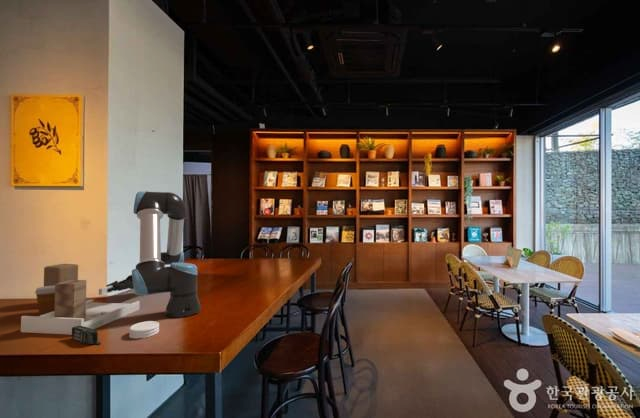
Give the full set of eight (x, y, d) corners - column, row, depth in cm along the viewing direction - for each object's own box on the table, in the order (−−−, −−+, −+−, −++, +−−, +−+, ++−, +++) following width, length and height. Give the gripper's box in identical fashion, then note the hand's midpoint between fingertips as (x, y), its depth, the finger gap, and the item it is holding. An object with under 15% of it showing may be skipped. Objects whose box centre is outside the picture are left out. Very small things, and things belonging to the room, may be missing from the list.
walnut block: (85, 318, 122) (86, 280, 123) (73, 324, 115) (74, 283, 116) (67, 318, 121) (68, 280, 122) (54, 324, 114) (55, 284, 115)
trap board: (90, 307, 144) (91, 295, 144) (139, 309, 142) (139, 296, 142) (20, 332, 114) (21, 316, 114) (81, 335, 111) (81, 319, 111)
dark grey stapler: (69, 326, 107) (93, 332, 101) (79, 324, 110) (103, 329, 104) (69, 340, 107) (93, 347, 101) (79, 337, 110) (103, 343, 104)
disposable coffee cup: (30, 317, 129) (31, 290, 129) (39, 311, 138) (39, 286, 138) (58, 314, 134) (59, 288, 134) (64, 308, 142) (65, 284, 142)
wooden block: (57, 307, 143) (58, 267, 144) (41, 306, 145) (43, 266, 146) (78, 301, 153) (79, 264, 154) (63, 300, 155) (64, 263, 156)
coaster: (140, 329, 118) (140, 320, 118) (164, 329, 117) (164, 320, 117) (122, 339, 108) (122, 330, 108) (148, 340, 107) (148, 330, 107)
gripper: (147, 287, 158) (113, 300, 134) (125, 287, 159) (87, 299, 136) (147, 274, 158) (113, 284, 135) (125, 273, 159) (87, 283, 136)
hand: (100, 291), depth 135 cm, fingers closed
